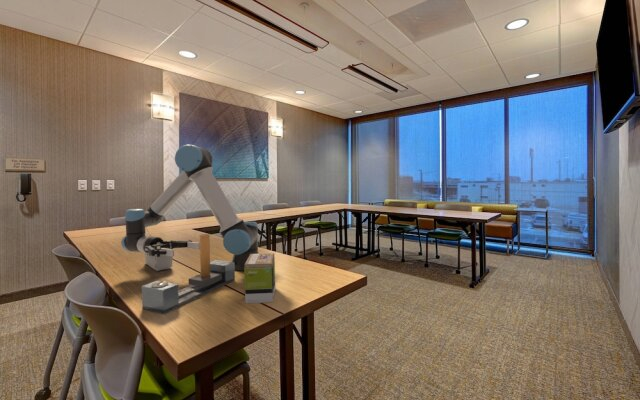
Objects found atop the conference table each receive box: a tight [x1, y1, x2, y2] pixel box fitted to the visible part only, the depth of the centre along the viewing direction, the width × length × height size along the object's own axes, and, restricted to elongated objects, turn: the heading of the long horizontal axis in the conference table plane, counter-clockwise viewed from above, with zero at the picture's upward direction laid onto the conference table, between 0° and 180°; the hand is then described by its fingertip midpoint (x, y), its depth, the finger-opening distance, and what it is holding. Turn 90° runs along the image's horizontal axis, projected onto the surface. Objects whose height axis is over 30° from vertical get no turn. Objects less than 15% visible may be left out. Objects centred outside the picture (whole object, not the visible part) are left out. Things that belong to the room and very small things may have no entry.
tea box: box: [243, 252, 276, 304], centre depth 112 cm, size 15×10×15 cm, turn 5°
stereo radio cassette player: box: [144, 227, 173, 272], centre depth 150 cm, size 21×8×20 cm, turn 45°
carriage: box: [188, 233, 222, 287], centre depth 120 cm, size 10×8×19 cm
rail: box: [141, 259, 236, 315], centre depth 115 cm, size 36×10×9 cm, turn 158°
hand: (187, 249), depth 123 cm, fingers open, 13 cm apart
